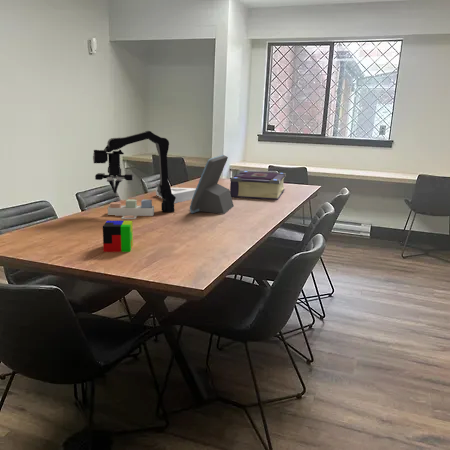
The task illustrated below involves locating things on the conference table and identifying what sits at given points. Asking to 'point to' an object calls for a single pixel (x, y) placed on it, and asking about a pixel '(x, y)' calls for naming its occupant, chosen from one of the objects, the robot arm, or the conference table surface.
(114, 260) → the conference table surface
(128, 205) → the sage green key
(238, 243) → the conference table surface
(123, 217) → the card
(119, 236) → the puzzle toy
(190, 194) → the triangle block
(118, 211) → the key console
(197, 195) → the touchscreen device
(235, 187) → the book
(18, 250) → the conference table surface
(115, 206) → the terracotta key
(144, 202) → the slate blue key
